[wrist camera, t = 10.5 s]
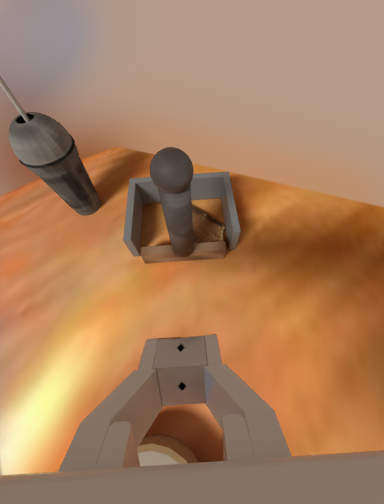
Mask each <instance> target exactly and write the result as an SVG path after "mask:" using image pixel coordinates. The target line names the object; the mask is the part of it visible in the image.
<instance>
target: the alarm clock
mask: <svg viewBox="0 0 384 504" xmlns="http://www.w3.org/2000/svg"><path fill="white" fill-rule="evenodd" d="M137 453H138V458H139V462H140V466H155V465H170V464H185V463H200V462H199V461H198V459H197V458H196V457H195V455H194V454H193V453H192V451H191V450H190V449H189V448H188V447H187V446H185V445H184V444H183V443H181V442H180V441H178V440H177V439H176V438H172V437H168V436H164V435H160V434H159V435H154V436H148V437H144V438H143V440H142V441H141V443H140V445H139V446H138V448H137Z"/></svg>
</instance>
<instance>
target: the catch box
mask: <svg viewBox="0 0 384 504" xmlns="http://www.w3.org/2000/svg"><path fill="white" fill-rule="evenodd" d="M190 184H191V200H201V199H215V198H221V204H222V210H223V216H224V223H225V226H226V227H225V229H226V235H227V241H228V247H229V249H235V248H236V245H237V242H238V239H239V236H240V233H241V230H240V225H239V220H238V215H237V211H236V206H235V201H234V196H233V191H232V186H231V181H230V176H229V172H216V173H202V174H193V178H192V181H191V183H190ZM159 202H161V200H160V196H159V192H158V188H157V187H156V185H155V184H154V183H153V181H152V178H151V177H146V178H132V179H129V189H128V199H127V209H126V219H125V228H124V238H123V240H124V242H125V244H126V245H127V247H128V248H129V250H130V251H131V253H132V255H133V256H140V247H141V229H142V212H143V204H145V203H159Z"/></svg>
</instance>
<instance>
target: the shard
mask: <svg viewBox="0 0 384 504" xmlns="http://www.w3.org/2000/svg"><path fill="white" fill-rule="evenodd" d="M192 222H193V241H194V243H206V242H220V241H223V231H224V229H225V227H226V226H225V225H223V224H222V223H220V222H219V221H217V220H216V219H213V218H212V217H211V216H209V215H207V214H206V213H204V212H202V211H200V210H199V209H197V208H195V207H193V206H192Z"/></svg>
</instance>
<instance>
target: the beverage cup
mask: <svg viewBox="0 0 384 504" xmlns="http://www.w3.org/2000/svg"><path fill="white" fill-rule="evenodd" d="M0 85H1V87H2V88H3V89H4V91H5V93H6V94H7V95H8V97H9V98H10V100H11V101H12V103H13V104H14V105H15V107H16V108H17V110H18V111H19V113H20V114H21V115H19V116H17V117H16V118H15V119H14V120H13V121H12V123H11V125H10V128H9V141H10V144H11V146H12V149H13V151H14V152H15V154H16V156H17V157H18V158H19V161H20V162H21V163H22V164H23V165H24V166H26V167H27V168H29V169H30V170H31V171H32V172H34V173H35V174H36V175H38V176H39V177H40V178H41V179H42V180H43V181H44V182H45V183H46V184H47V185H48V186H50V187H51V188H52V189H53V190H54V191H55V192H56V193H57V194H58V195H59V196H60V197H61V198H62V199H63V200H64V201H65V202H66V203H67V204H68V205H69V206H70V207H71V208H73V209H74V210H75V211H76V212H77V213H78V214H80V215H91V214H93V213H95V212H96V211H97V210H98V209H99V207H100V204H101V203H100V200H99V197H98V194H97V192H96V190H95V188H94V186H93V184H92V182H91V180H90V178H89V176H88V174H87V172H86V170H85V168H84V166H83V163H82V161H81V159H80V157H79V153H78V150H77V147H76V145H75V142H74V139H73V138H72V136H71V135H70V134H69V133H68V132H67V131H66V129H65V128H64V127H63V126H62V125H61V124H60V123H58V122H57V121H56V120H54V119H52V118H51V117H49V116H47V115H44V114H41V113H34V112H28V113H25V112H24V110H23V109H22V108H21V106H20V104H19V103H18V102H17V100H16V99H15V97H14V96H13V94H12V93H11V91H10V90H9V88H8V87H7V85H6V84H5V82H4V81H3V80H2V78H1V77H0Z"/></svg>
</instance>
